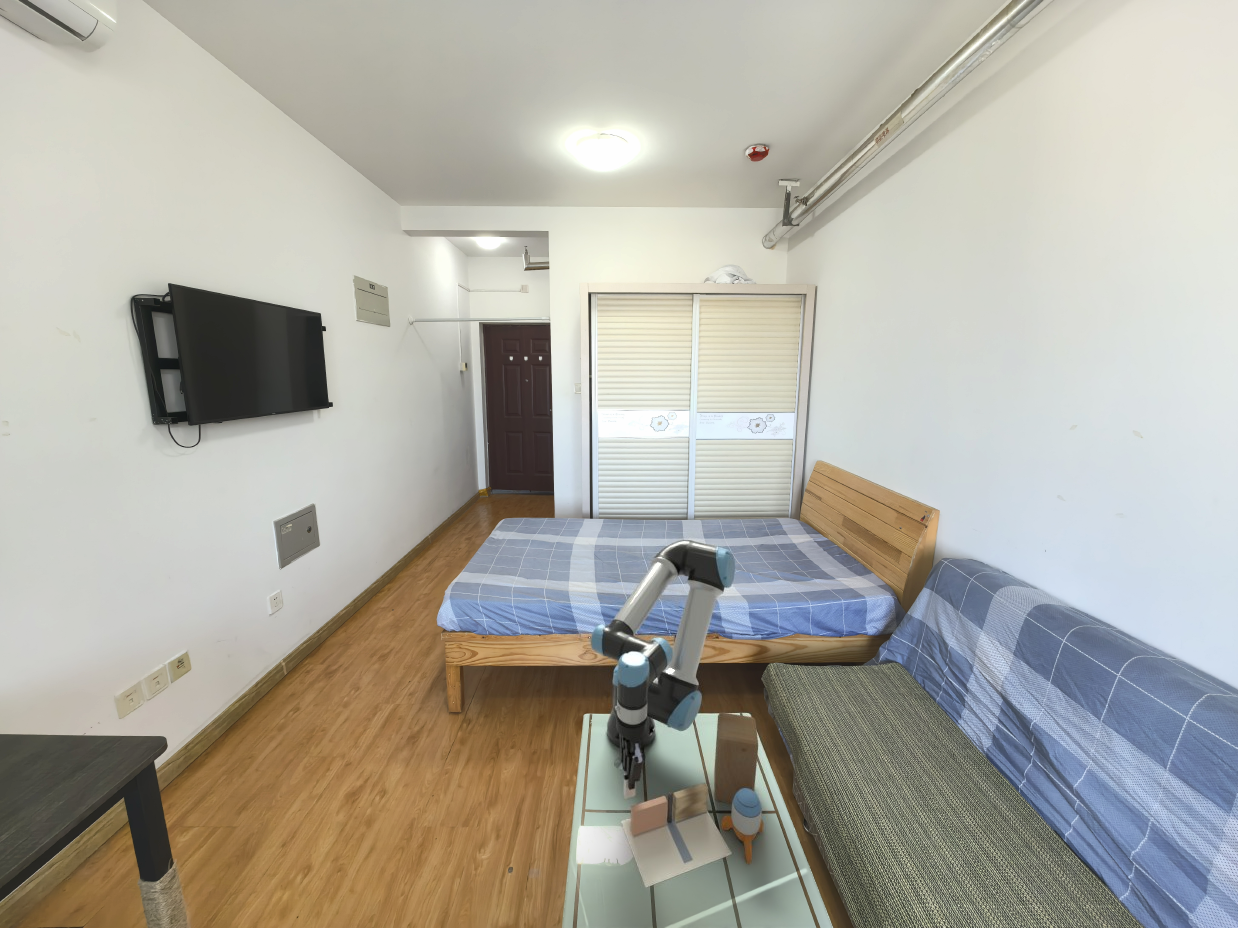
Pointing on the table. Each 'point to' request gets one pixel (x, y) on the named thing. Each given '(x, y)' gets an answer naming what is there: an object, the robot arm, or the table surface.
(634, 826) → the hinged fence panel
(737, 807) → the toy rocket
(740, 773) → the wooden block
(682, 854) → the card
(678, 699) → the robot arm
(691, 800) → the fixed fence panel
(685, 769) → the table surface
